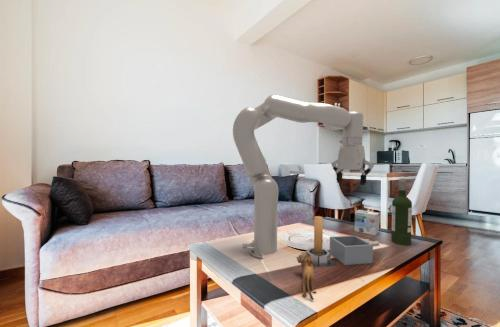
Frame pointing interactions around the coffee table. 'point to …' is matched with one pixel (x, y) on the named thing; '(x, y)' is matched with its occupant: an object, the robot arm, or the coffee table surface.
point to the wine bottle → (401, 216)
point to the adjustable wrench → (372, 242)
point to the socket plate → (322, 259)
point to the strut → (318, 236)
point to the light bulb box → (367, 222)
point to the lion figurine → (307, 272)
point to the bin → (351, 250)
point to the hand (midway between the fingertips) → (350, 183)
